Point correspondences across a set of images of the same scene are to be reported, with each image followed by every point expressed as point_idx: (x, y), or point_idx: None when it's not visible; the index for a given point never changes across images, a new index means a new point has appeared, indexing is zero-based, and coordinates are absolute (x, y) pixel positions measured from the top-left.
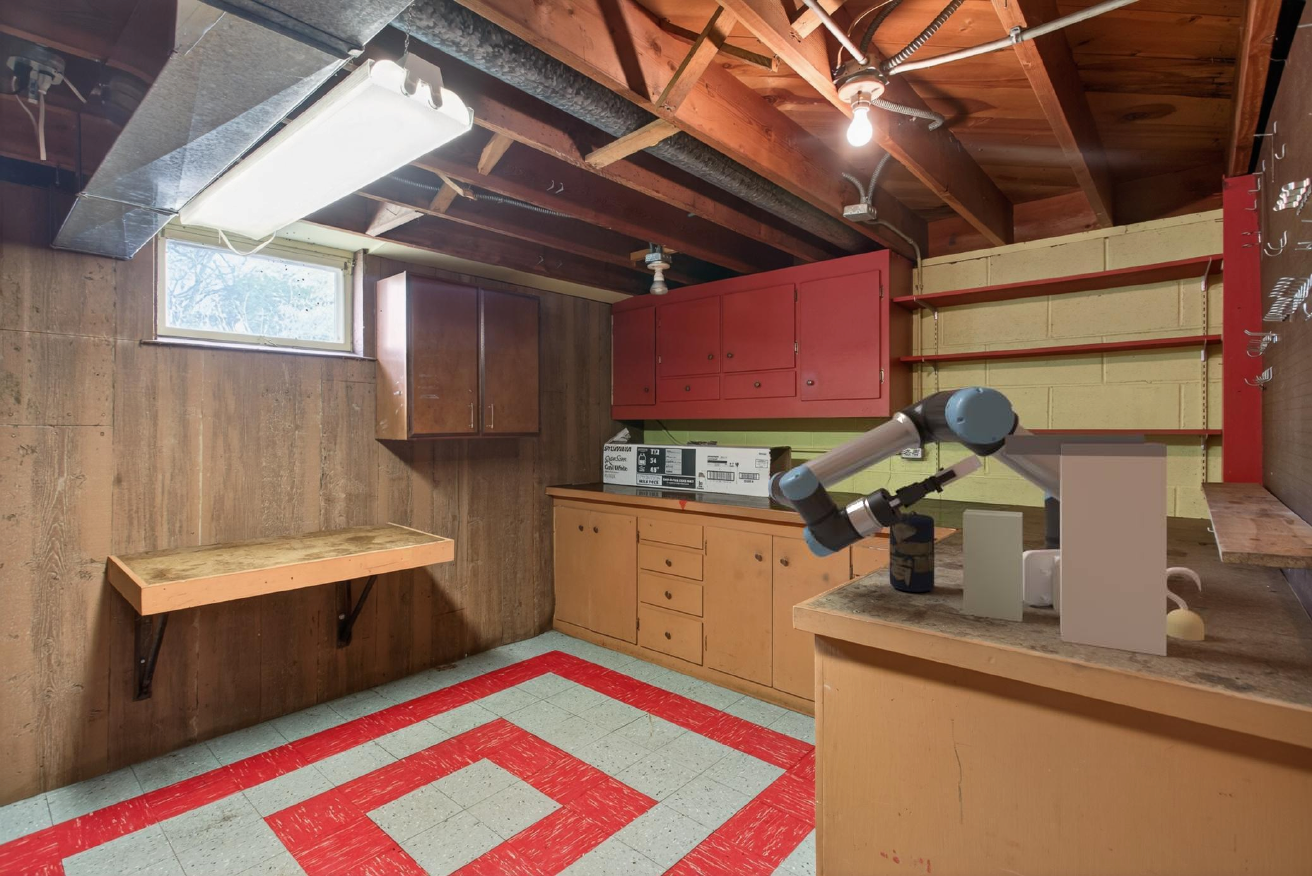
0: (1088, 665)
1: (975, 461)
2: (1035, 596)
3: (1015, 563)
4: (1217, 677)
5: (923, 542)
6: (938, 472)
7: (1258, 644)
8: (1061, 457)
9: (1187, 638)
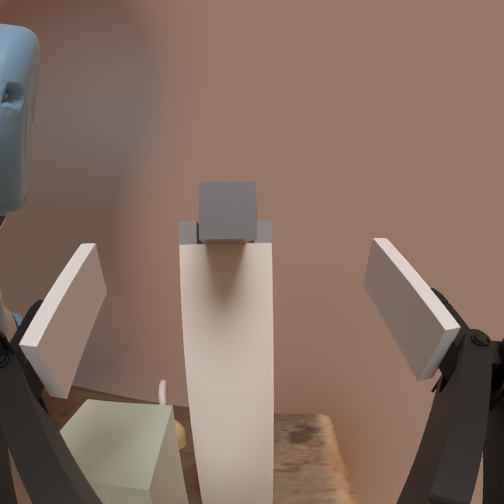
0: (347, 486)
1: (95, 276)
2: None
3: (184, 496)
4: (294, 436)
5: None
6: (449, 313)
7: (174, 416)
8: (265, 246)
9: (186, 441)
